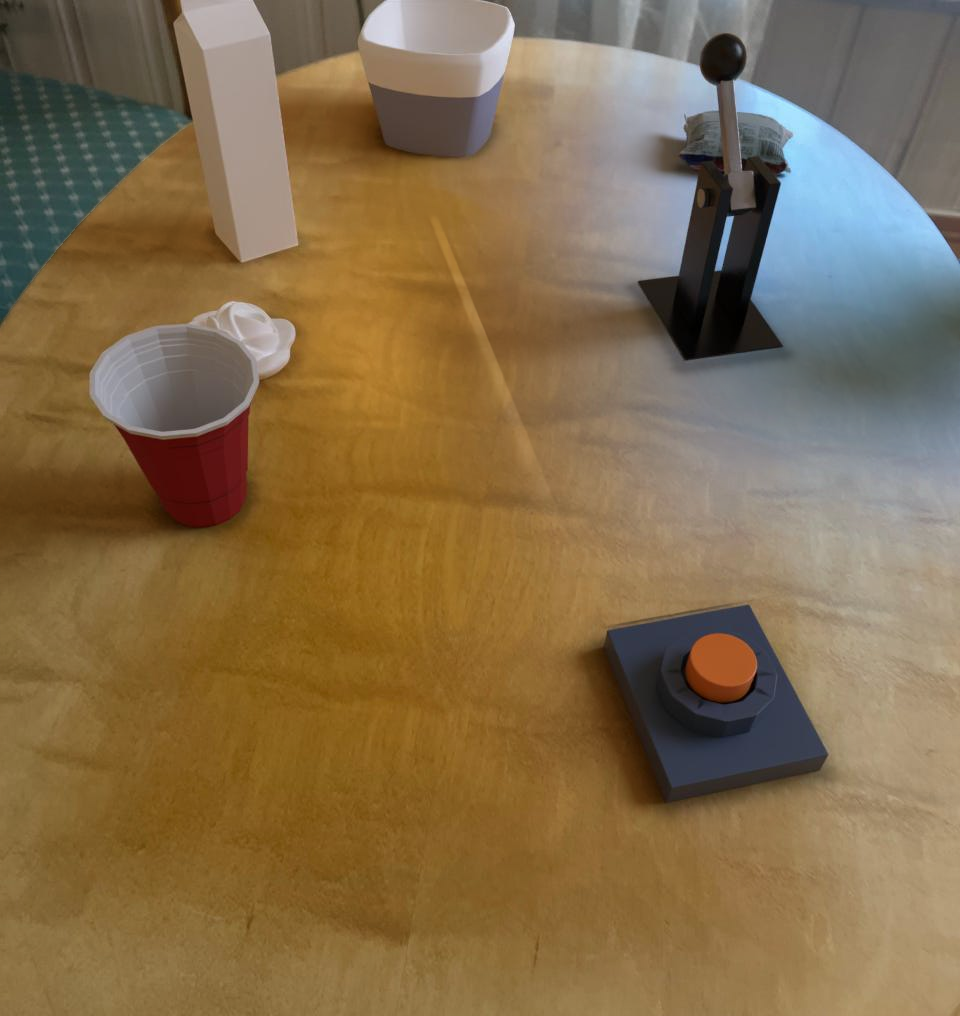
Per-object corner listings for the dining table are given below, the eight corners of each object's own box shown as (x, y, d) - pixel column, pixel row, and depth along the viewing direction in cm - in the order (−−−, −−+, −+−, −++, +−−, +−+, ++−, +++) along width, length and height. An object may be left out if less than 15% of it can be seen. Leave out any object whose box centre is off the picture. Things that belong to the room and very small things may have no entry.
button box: (602, 650, 67) (609, 612, 64) (742, 624, 69) (755, 585, 65) (664, 806, 60) (676, 772, 57) (818, 773, 61) (838, 738, 58)
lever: (689, 46, 80) (708, 26, 76) (732, 42, 80) (752, 23, 77) (707, 220, 82) (725, 209, 79) (748, 216, 83) (768, 204, 79)
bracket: (636, 291, 93) (660, 141, 82) (727, 280, 94) (762, 131, 83) (682, 371, 86) (716, 218, 75) (780, 357, 87) (826, 205, 76)
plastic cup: (192, 582, 70) (151, 451, 60) (104, 504, 74) (53, 371, 65) (312, 504, 75) (292, 372, 65) (223, 436, 79) (192, 302, 70)
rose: (147, 311, 82) (237, 261, 87) (160, 357, 85) (245, 306, 90) (231, 361, 78) (319, 306, 83) (240, 406, 82) (325, 351, 86)
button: (675, 656, 62) (680, 639, 61) (735, 645, 63) (741, 627, 62) (699, 708, 60) (704, 692, 58) (761, 696, 60) (768, 679, 59)
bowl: (350, 157, 107) (340, 44, 98) (392, 94, 116) (386, -14, 108) (490, 177, 105) (493, 63, 96) (521, 111, 114) (527, 2, 106)
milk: (299, 249, 96) (266, -10, 79) (240, 267, 94) (194, 5, 77) (271, 219, 99) (234, -36, 82) (214, 236, 97) (163, -22, 80)
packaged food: (680, 138, 111) (688, 91, 107) (788, 150, 110) (801, 104, 106) (673, 177, 106) (681, 130, 102) (787, 191, 105) (799, 144, 101)
